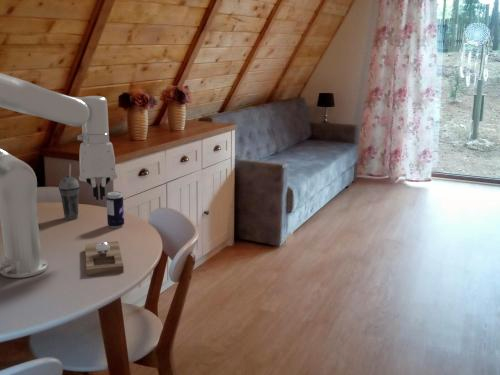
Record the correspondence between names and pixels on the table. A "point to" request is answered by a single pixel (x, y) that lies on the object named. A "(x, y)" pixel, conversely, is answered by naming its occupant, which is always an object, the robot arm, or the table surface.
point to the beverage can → (115, 209)
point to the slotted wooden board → (103, 260)
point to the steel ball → (102, 248)
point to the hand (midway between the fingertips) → (99, 198)
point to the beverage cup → (69, 196)
